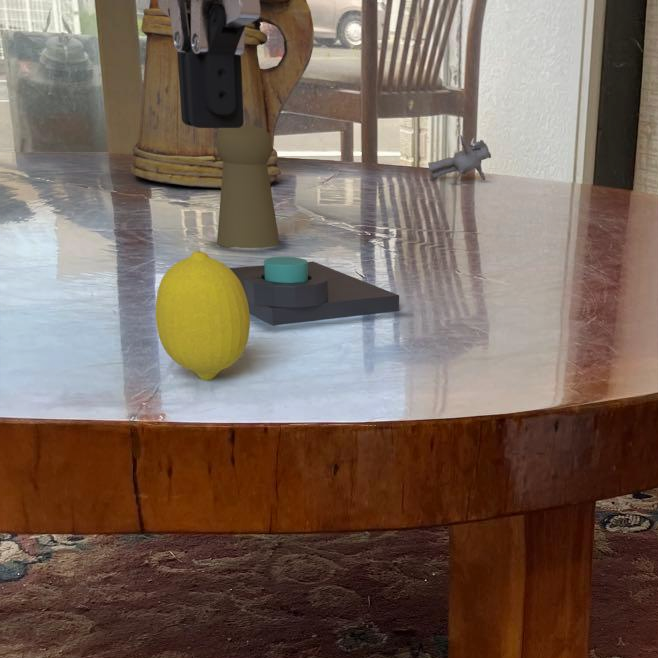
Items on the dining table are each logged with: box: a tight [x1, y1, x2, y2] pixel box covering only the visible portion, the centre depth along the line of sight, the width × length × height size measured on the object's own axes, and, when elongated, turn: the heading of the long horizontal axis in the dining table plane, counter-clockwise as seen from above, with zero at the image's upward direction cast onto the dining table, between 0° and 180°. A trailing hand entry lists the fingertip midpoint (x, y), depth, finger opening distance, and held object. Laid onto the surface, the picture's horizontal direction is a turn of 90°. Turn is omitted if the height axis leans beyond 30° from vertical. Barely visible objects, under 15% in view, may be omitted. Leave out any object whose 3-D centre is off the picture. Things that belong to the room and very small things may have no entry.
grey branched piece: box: [427, 134, 492, 183], centre depth 161 cm, size 10×6×9 cm
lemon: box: [155, 250, 251, 381], centre depth 68 cm, size 6×6×8 cm
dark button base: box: [228, 261, 400, 327], centre depth 89 cm, size 12×14×3 cm
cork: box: [216, 125, 281, 249], centre depth 108 cm, size 6×6×11 cm
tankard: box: [130, 0, 315, 189], centre depth 142 cm, size 18×24×25 cm
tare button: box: [263, 256, 309, 283], centre depth 84 cm, size 3×3×2 cm
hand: (213, 125), depth 67 cm, fingers closed
